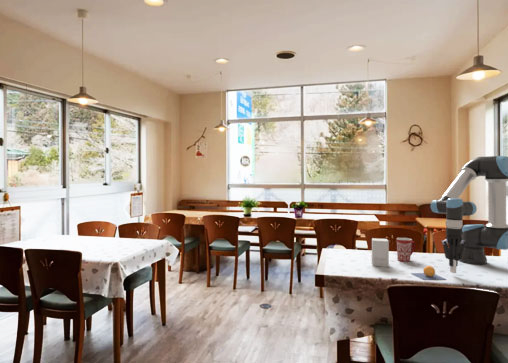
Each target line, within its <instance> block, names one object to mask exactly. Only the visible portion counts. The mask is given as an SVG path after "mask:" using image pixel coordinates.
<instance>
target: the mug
mask: <svg viewBox="0 0 508 363" xmlns="http://www.w3.org/2000/svg"><path fill="white" fill-rule="evenodd" d="M415 248H416V242H415V241H414V240H413V239H412V238H408V237H397V238H396V256H397V261H398V262H404V263H408V262H410V261H411V256H412V254H413V253H414V251H415Z"/></svg>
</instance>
